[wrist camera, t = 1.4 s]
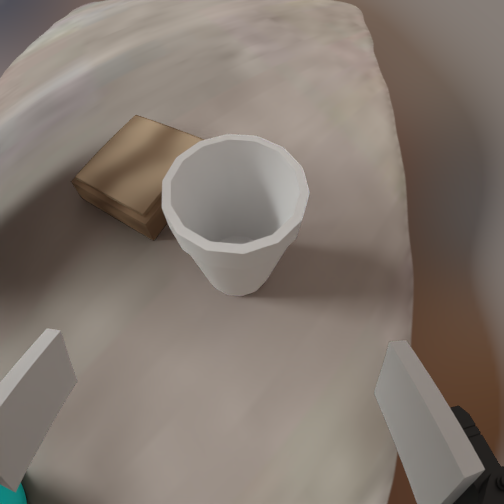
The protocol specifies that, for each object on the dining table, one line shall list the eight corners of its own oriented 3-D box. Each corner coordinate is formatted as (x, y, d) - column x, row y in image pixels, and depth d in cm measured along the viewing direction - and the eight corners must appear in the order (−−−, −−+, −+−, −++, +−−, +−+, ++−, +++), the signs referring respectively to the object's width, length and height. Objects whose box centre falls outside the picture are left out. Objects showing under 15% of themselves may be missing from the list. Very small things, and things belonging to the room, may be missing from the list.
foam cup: (265, 213, 34) (275, 123, 23) (300, 291, 31) (334, 224, 19) (179, 240, 33) (149, 156, 21) (206, 325, 29) (180, 274, 17)
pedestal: (82, 197, 35) (69, 178, 31) (141, 132, 39) (134, 111, 36) (153, 240, 33) (143, 221, 29) (215, 162, 37) (212, 139, 34)
